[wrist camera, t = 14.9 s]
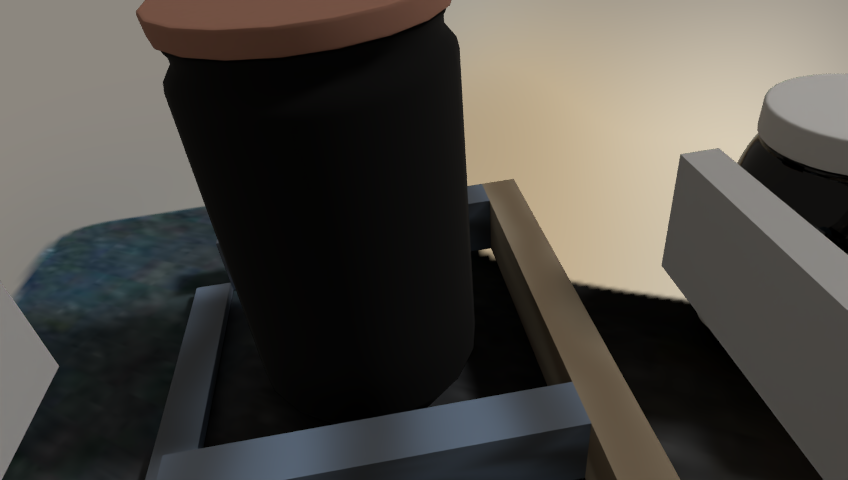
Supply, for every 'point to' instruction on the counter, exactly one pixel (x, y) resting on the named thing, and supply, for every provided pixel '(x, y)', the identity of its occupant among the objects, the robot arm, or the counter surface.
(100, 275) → the counter surface
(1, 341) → the robot arm
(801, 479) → the counter surface
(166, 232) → the counter surface
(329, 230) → the coffee jar
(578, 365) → the divider rack
